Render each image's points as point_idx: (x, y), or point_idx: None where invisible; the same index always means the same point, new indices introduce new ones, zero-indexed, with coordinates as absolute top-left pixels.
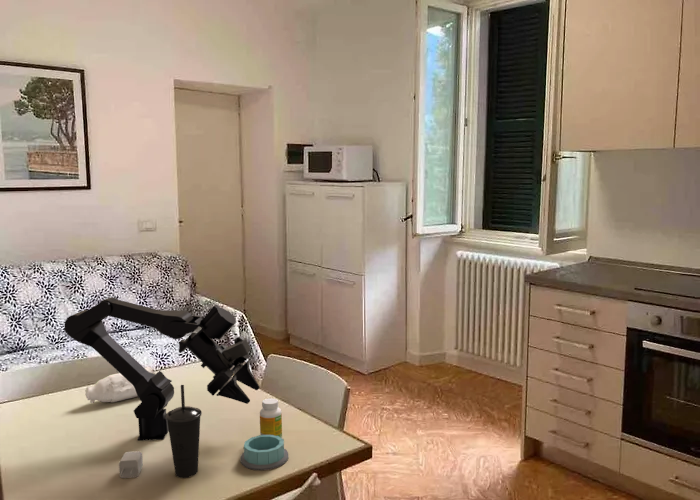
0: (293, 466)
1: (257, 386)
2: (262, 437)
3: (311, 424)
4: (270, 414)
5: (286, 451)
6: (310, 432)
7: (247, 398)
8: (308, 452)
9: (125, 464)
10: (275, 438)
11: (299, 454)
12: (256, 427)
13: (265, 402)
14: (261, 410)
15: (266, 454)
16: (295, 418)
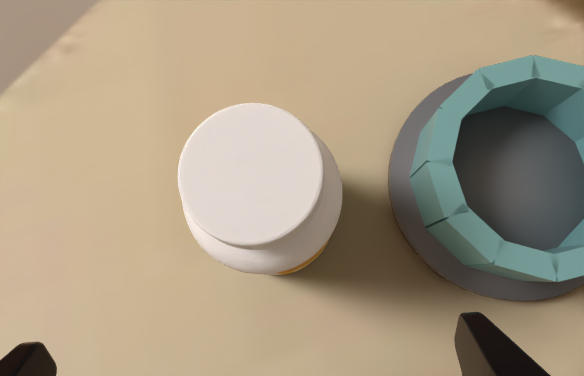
0: (538, 39)
1: (29, 367)
2: (462, 199)
3: (96, 72)
4: (335, 166)
5: (443, 90)
6: (188, 54)
7: (509, 341)
8: (395, 13)
9: None
10: (459, 121)
11: (422, 44)
12: (149, 344)
13: (293, 201)
14: (288, 252)
15: None
16: (23, 167)
